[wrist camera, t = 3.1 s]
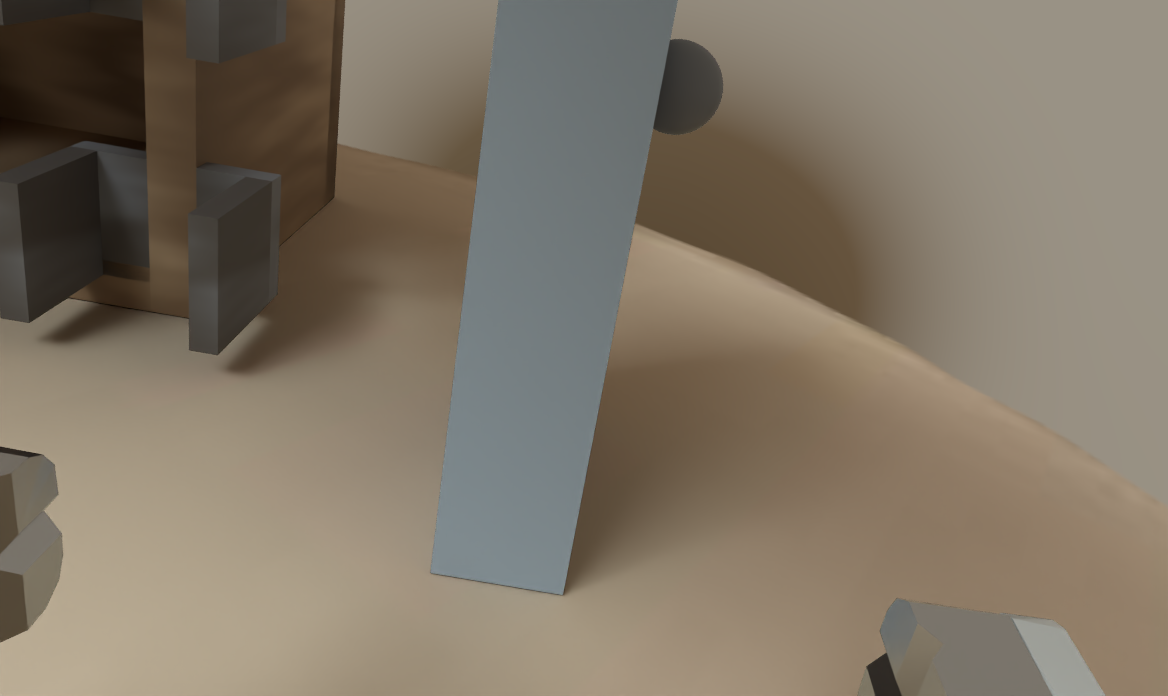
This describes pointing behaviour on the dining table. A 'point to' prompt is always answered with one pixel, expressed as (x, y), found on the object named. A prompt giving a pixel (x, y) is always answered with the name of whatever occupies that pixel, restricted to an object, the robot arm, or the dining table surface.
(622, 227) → the door
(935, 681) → the robot arm
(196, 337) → the cabinet
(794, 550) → the dining table surface
